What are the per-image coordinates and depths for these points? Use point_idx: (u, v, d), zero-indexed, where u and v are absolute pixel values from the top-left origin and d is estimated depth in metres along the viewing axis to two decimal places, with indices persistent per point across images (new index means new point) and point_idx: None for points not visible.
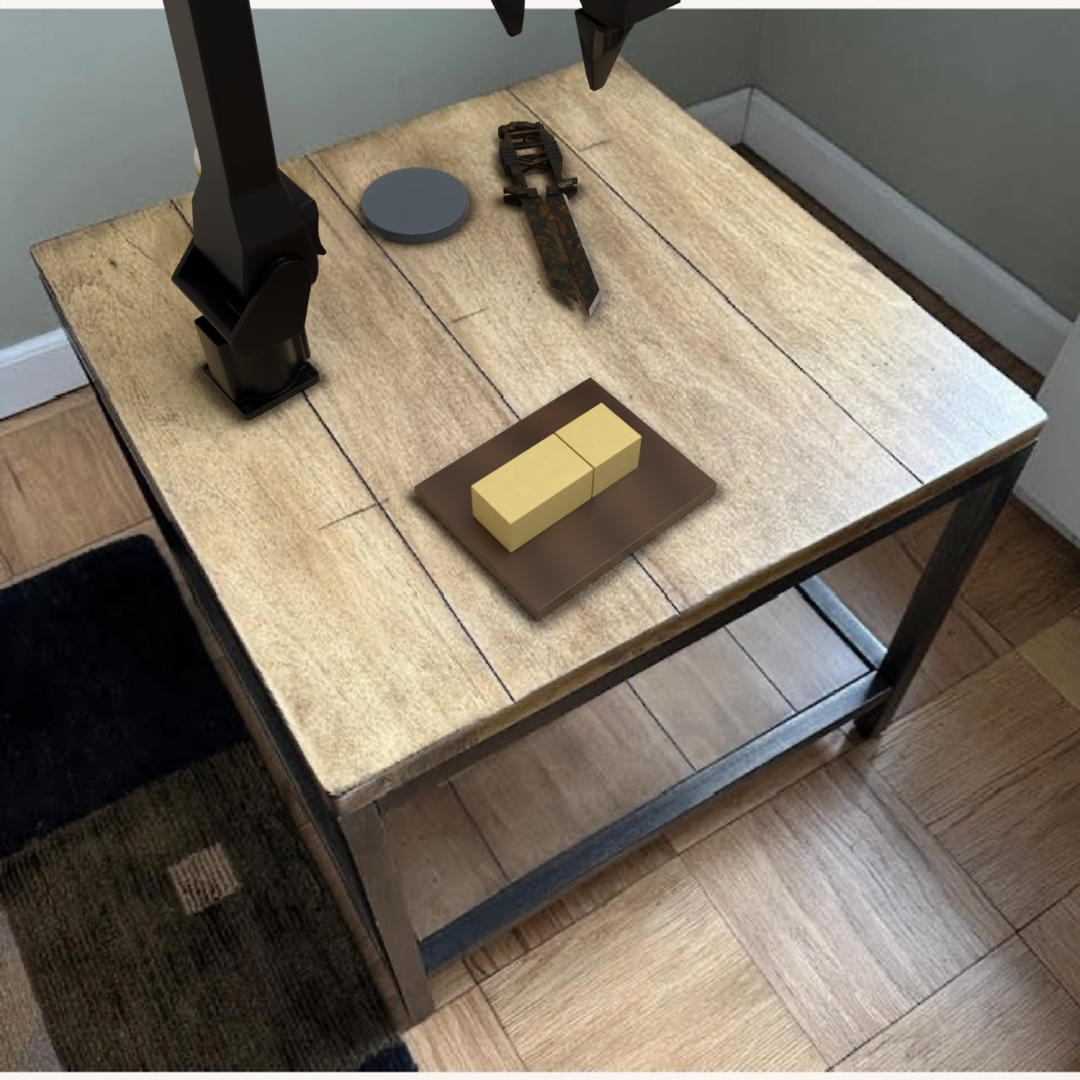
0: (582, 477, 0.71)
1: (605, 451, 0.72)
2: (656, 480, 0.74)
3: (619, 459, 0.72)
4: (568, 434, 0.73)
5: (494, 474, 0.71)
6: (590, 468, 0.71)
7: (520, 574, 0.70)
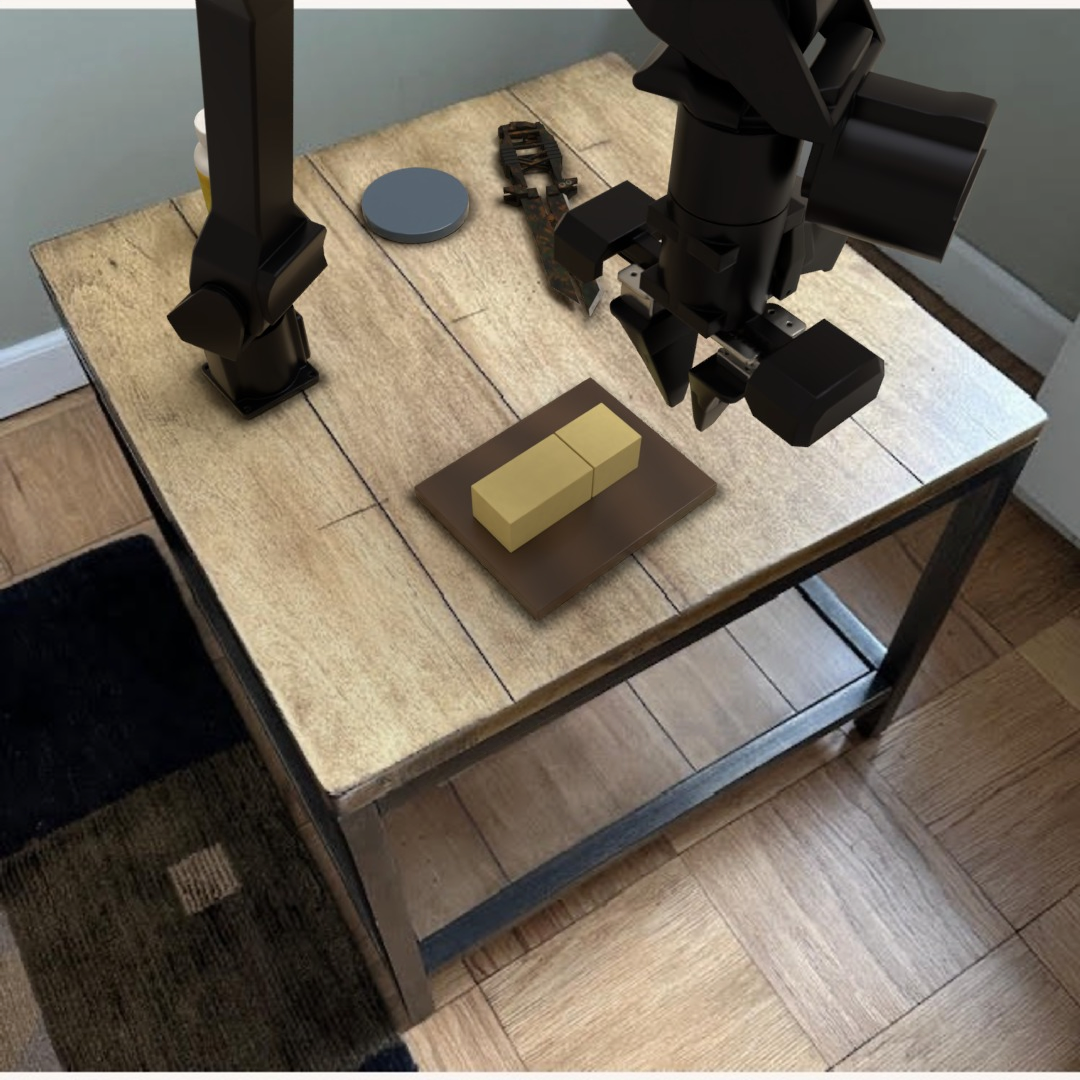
0: (582, 477, 0.71)
1: (605, 451, 0.72)
2: (656, 480, 0.74)
3: (619, 459, 0.72)
4: (568, 434, 0.73)
5: (494, 474, 0.71)
6: (590, 468, 0.71)
7: (520, 574, 0.70)
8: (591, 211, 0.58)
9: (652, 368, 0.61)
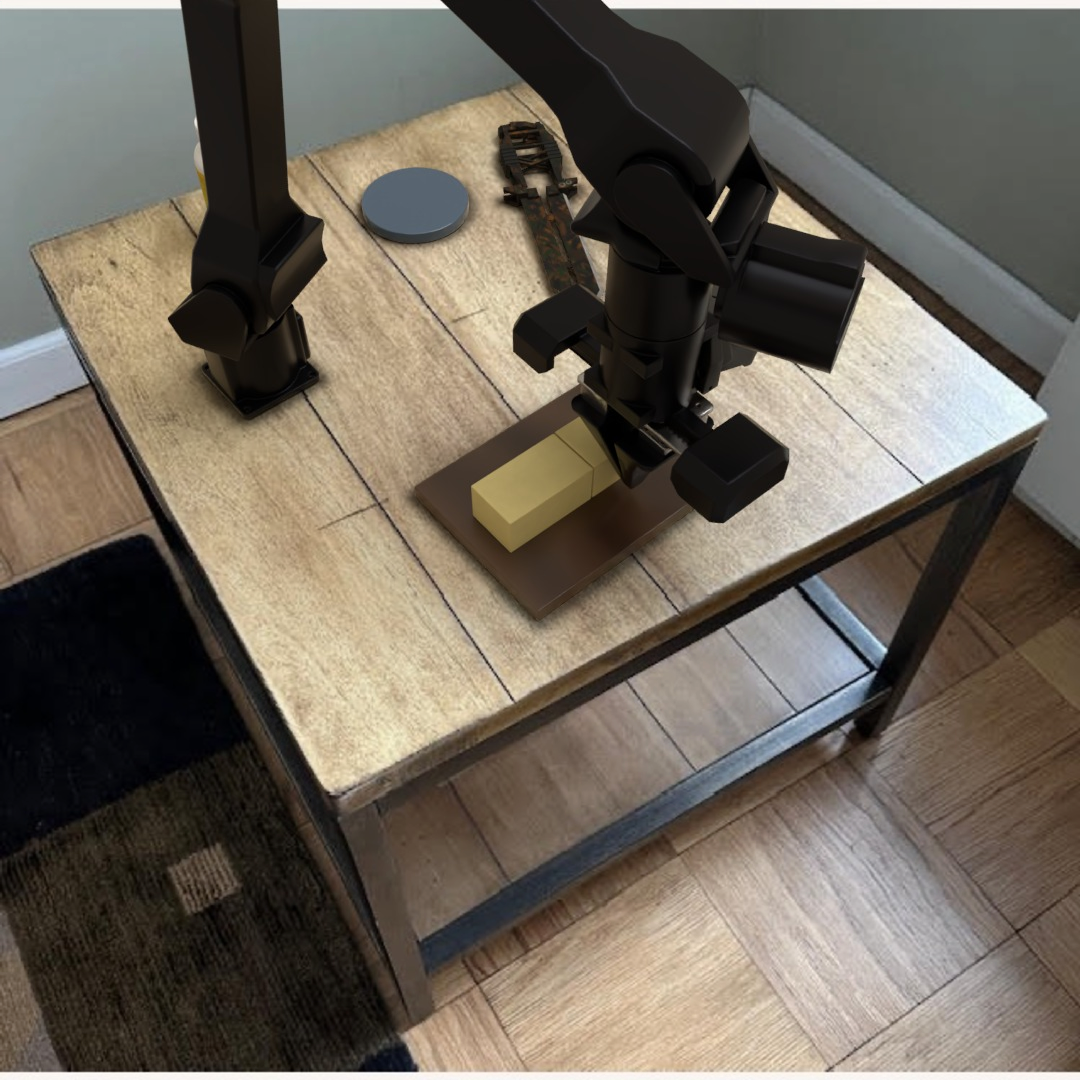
0: (582, 477, 0.71)
1: None
2: (656, 480, 0.74)
3: None
4: (567, 433, 0.73)
5: (494, 474, 0.71)
6: (590, 468, 0.71)
7: (520, 574, 0.70)
8: (544, 312, 0.68)
9: (609, 455, 0.70)
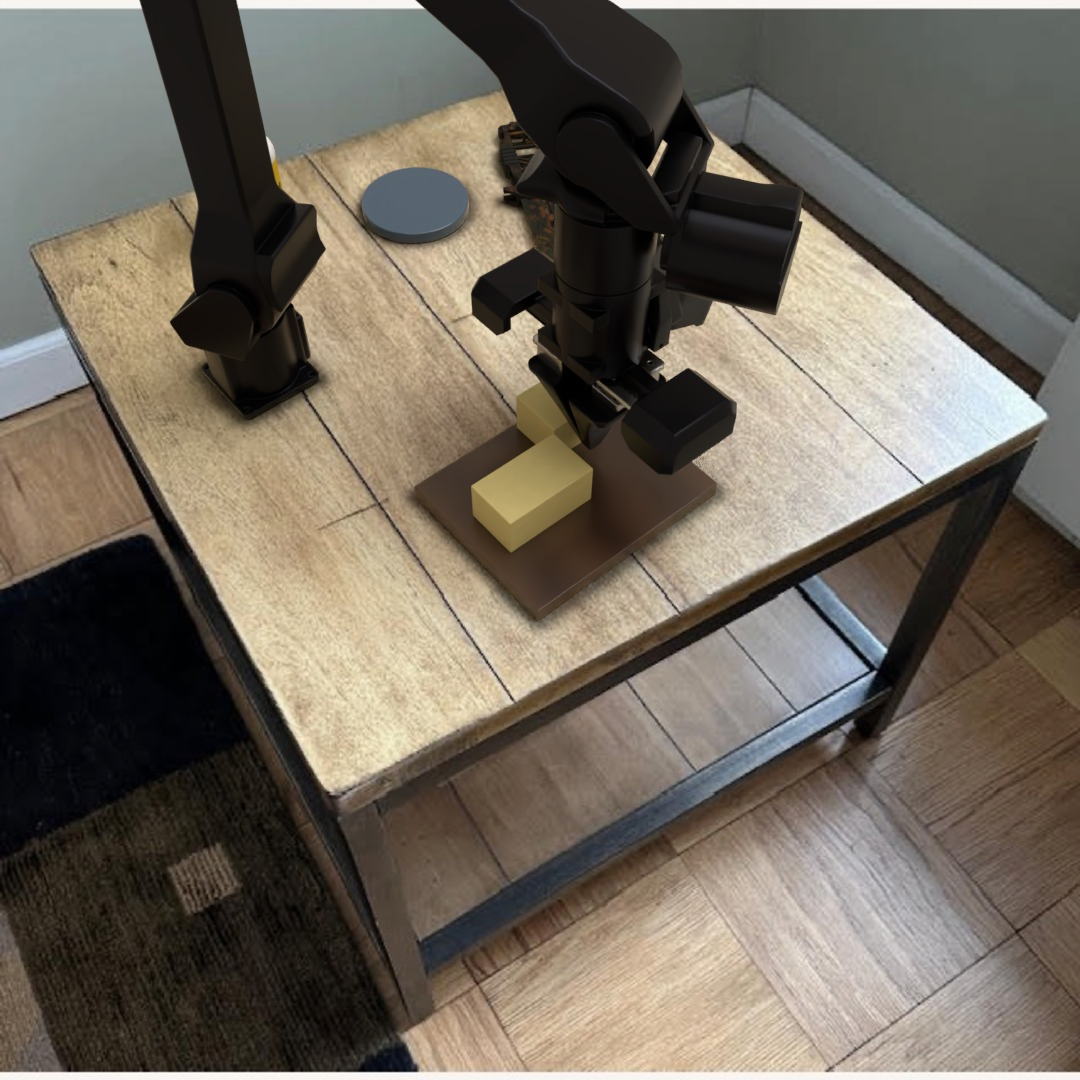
0: (582, 477, 0.71)
1: None
2: (656, 480, 0.74)
3: None
4: (528, 398, 0.74)
5: (494, 474, 0.71)
6: (590, 468, 0.71)
7: (520, 574, 0.70)
8: (501, 275, 0.70)
9: (566, 415, 0.71)
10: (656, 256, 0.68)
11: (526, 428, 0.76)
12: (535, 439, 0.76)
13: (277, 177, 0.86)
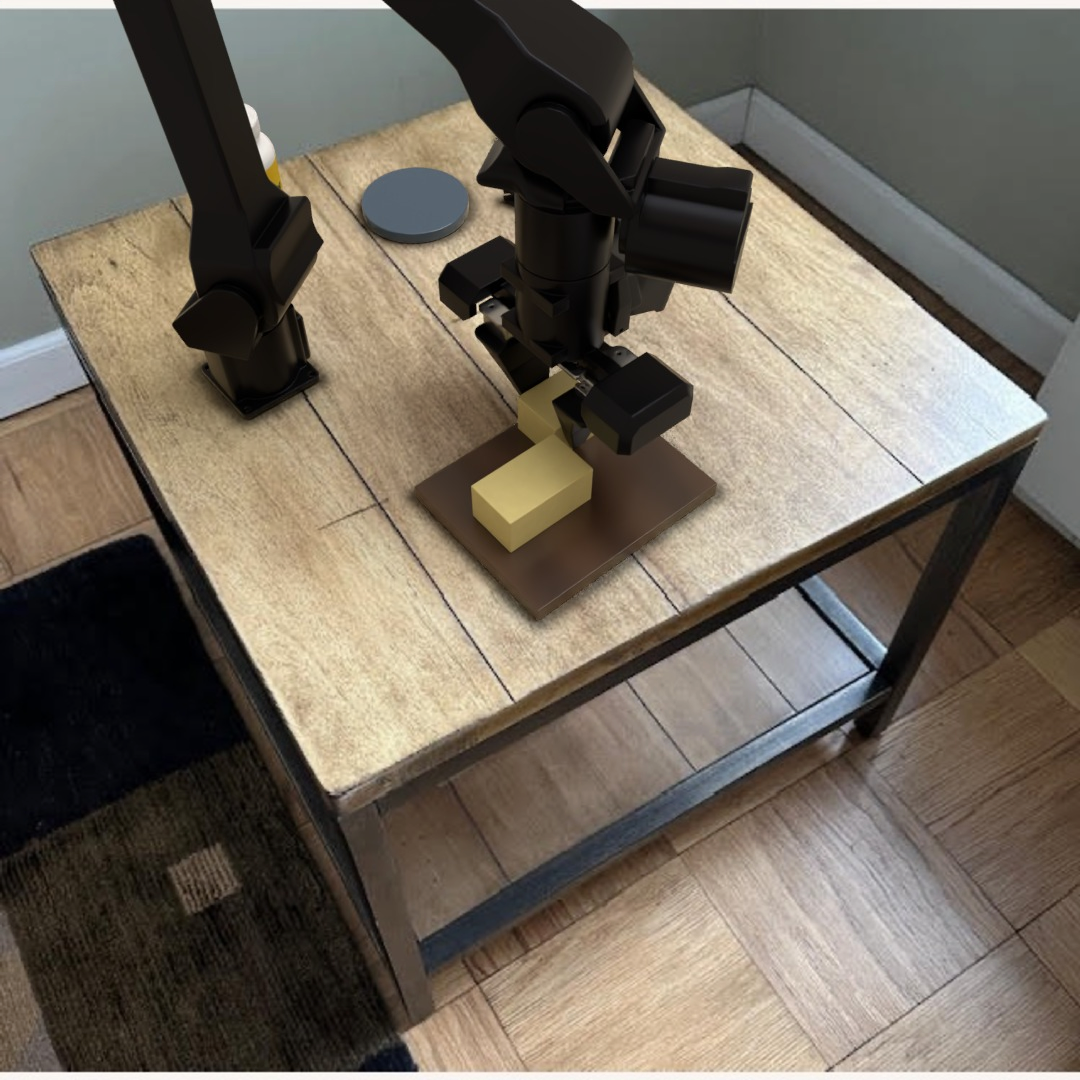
0: (582, 477, 0.71)
1: None
2: (656, 480, 0.74)
3: None
4: (530, 398, 0.74)
5: (494, 474, 0.71)
6: (590, 468, 0.71)
7: (520, 574, 0.70)
8: (467, 262, 0.72)
9: (512, 381, 0.74)
10: (617, 243, 0.70)
11: (527, 429, 0.76)
12: (536, 439, 0.76)
13: (277, 177, 0.86)
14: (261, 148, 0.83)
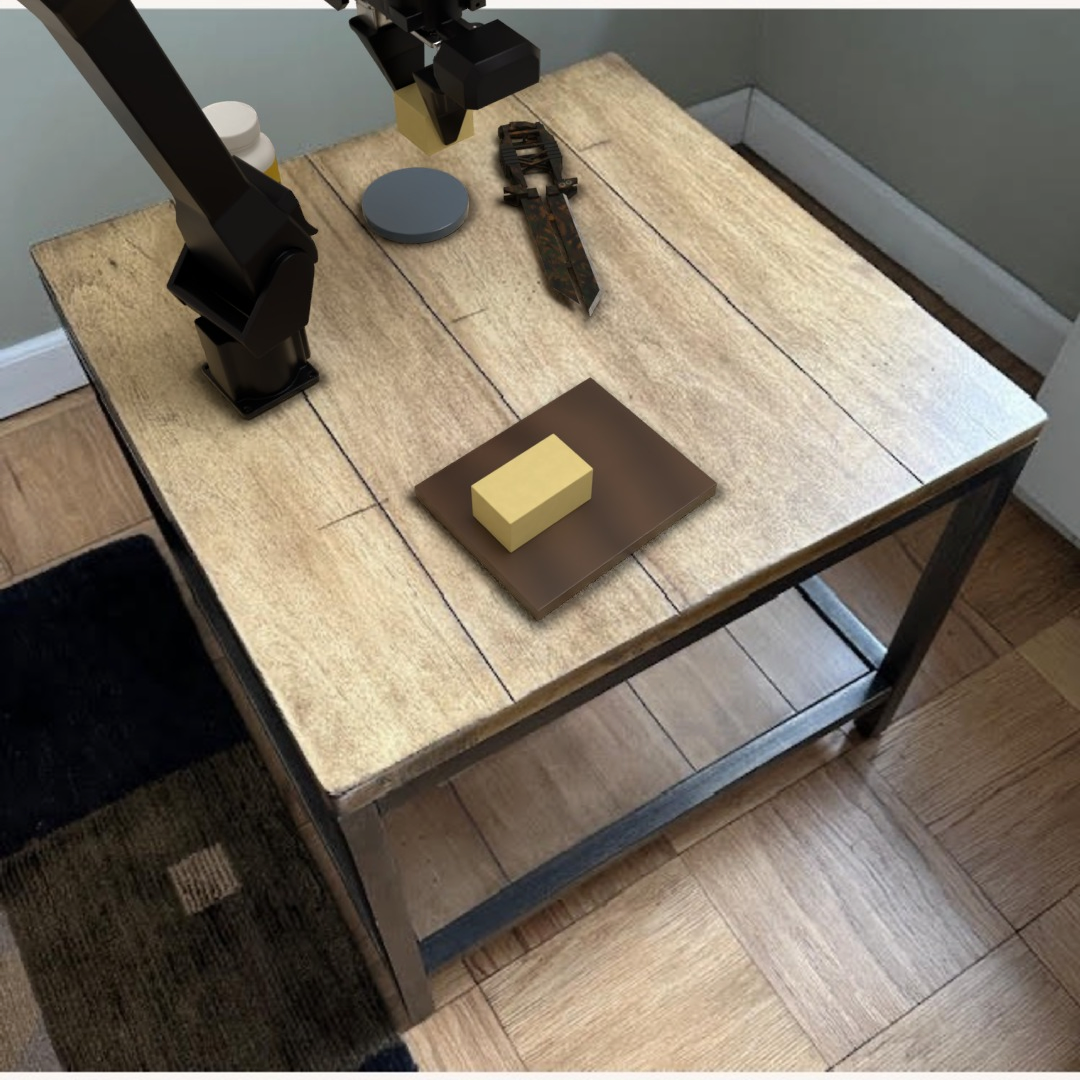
0: (582, 477, 0.71)
1: None
2: (656, 480, 0.74)
3: None
4: (404, 93, 0.79)
5: (494, 474, 0.71)
6: (590, 468, 0.71)
7: (520, 574, 0.70)
8: None
9: (387, 76, 0.79)
10: None
11: (404, 127, 0.80)
12: (412, 137, 0.80)
13: (277, 177, 0.86)
14: (261, 148, 0.83)
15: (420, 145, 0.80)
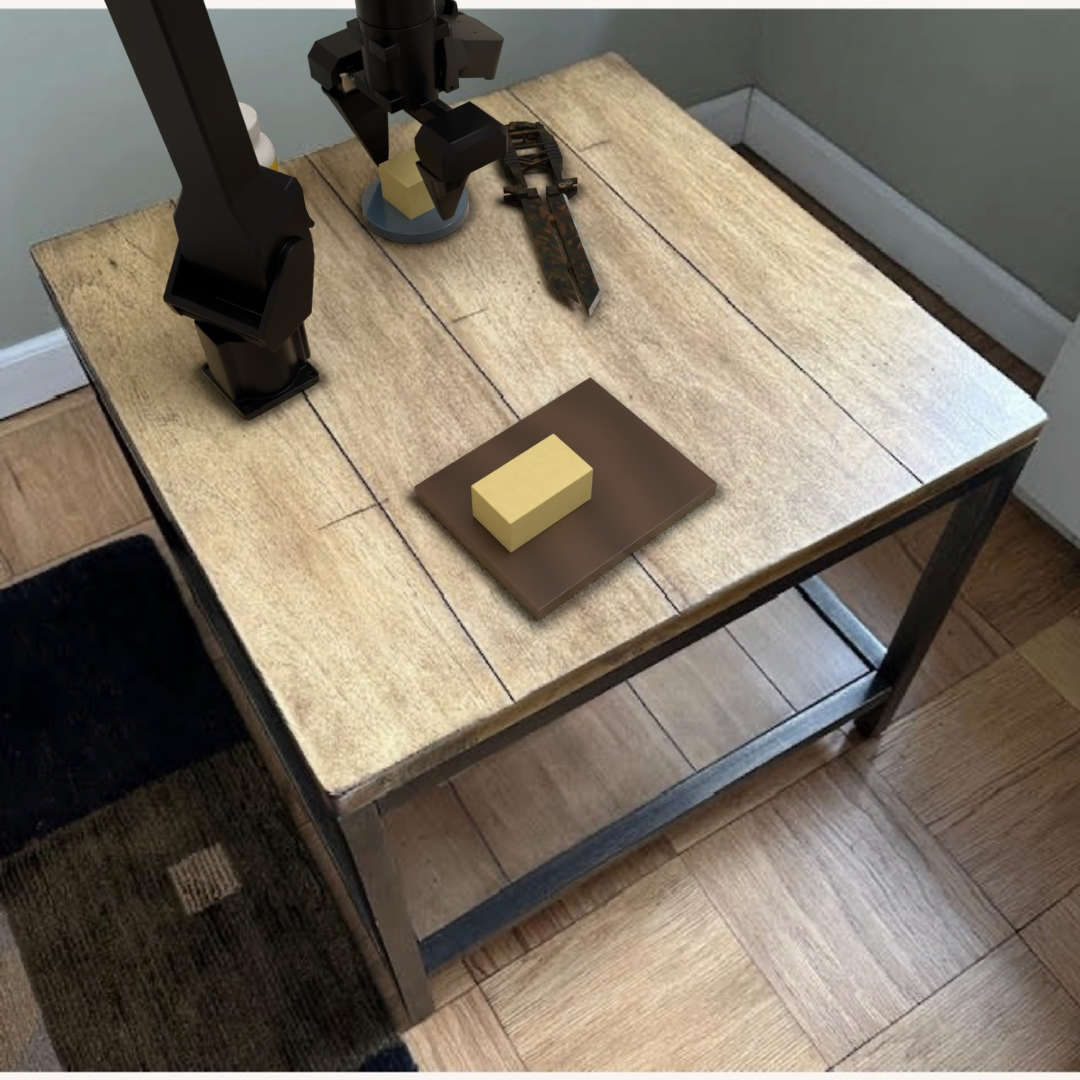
0: (582, 477, 0.71)
1: (417, 177, 0.89)
2: (656, 480, 0.74)
3: None
4: (389, 165, 0.90)
5: (494, 474, 0.71)
6: (590, 468, 0.71)
7: (520, 574, 0.70)
8: (331, 40, 0.87)
9: (355, 132, 0.90)
10: (451, 20, 0.85)
11: (389, 194, 0.91)
12: (396, 203, 0.91)
13: None
14: (261, 148, 0.83)
15: (403, 210, 0.91)
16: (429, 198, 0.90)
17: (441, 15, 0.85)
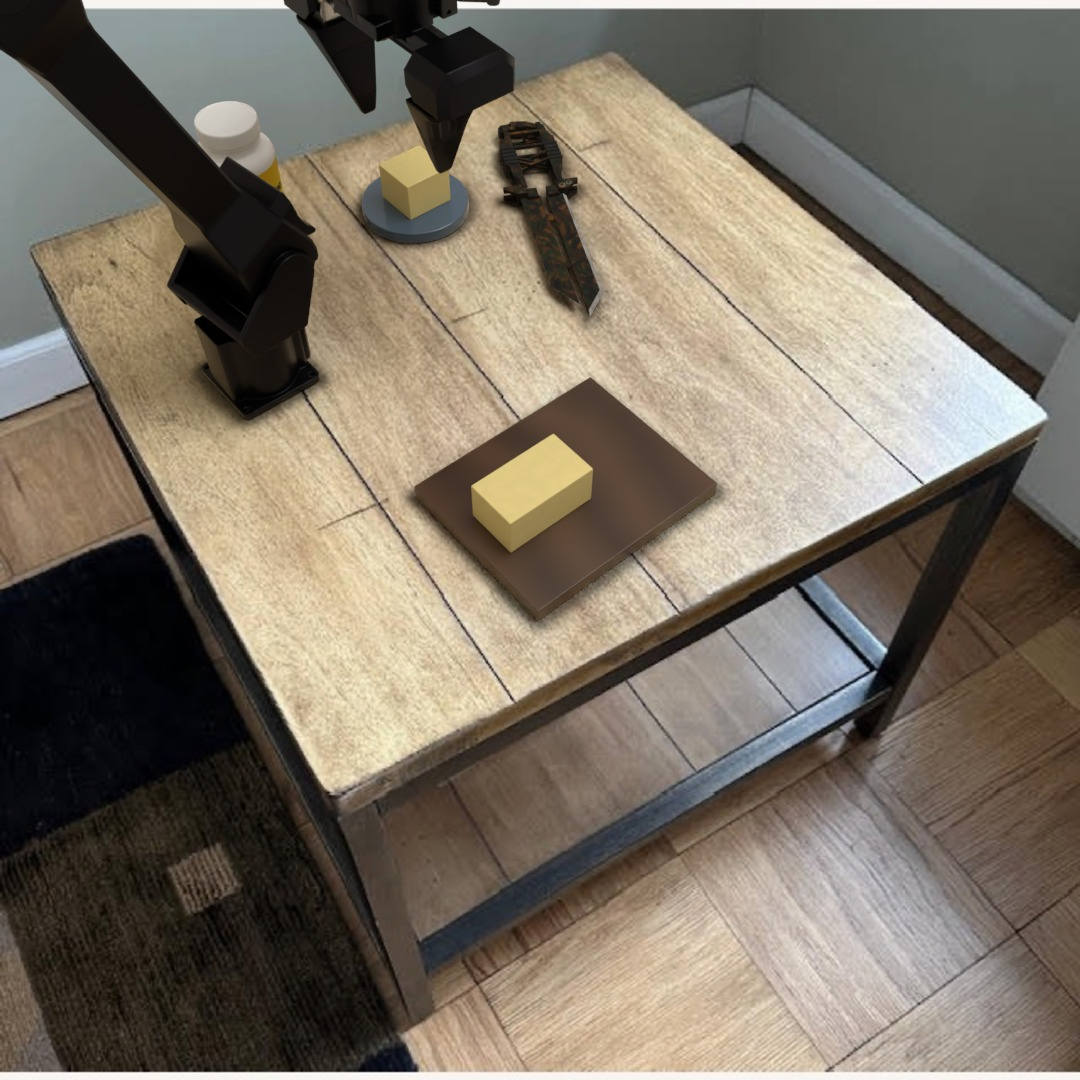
0: (582, 477, 0.71)
1: (417, 177, 0.89)
2: (656, 480, 0.74)
3: (430, 185, 0.90)
4: (389, 165, 0.90)
5: (494, 474, 0.71)
6: (590, 468, 0.71)
7: (520, 574, 0.70)
8: None
9: (337, 71, 0.77)
10: None
11: (389, 194, 0.91)
12: (396, 203, 0.91)
13: (277, 177, 0.86)
14: (261, 148, 0.83)
15: (403, 210, 0.91)
16: (429, 198, 0.90)
17: None
